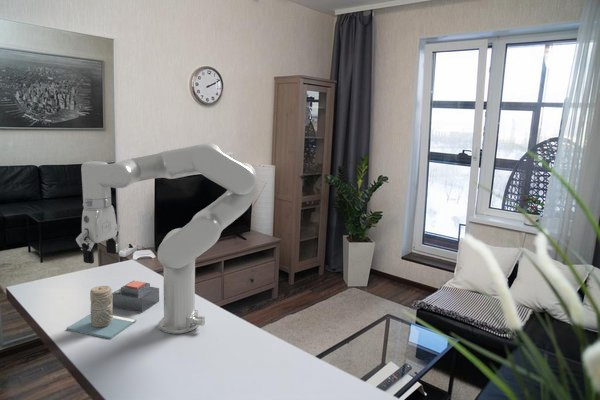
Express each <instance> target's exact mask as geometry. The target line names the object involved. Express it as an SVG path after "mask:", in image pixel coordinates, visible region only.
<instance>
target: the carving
mask: <svg viewBox="0 0 600 400" xmlns="http://www.w3.org/2000/svg"><path fill="white" fill-rule="evenodd" d="M112 293H113V289H112V287H111V286H109V285H99V286H95V287H93V288H91V290H90V293H89V297H90V298H89V300H90V314H91V316H90V318H91V323H92V325H93V326H94V327H97V328H98V327H105V326H107V325H109V324H110V323H111V321H112V320H113V315H114V312H113V311H114V309H113V308H114V307H113V304H112V303H113V302H112V301H113V295H112Z"/></svg>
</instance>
